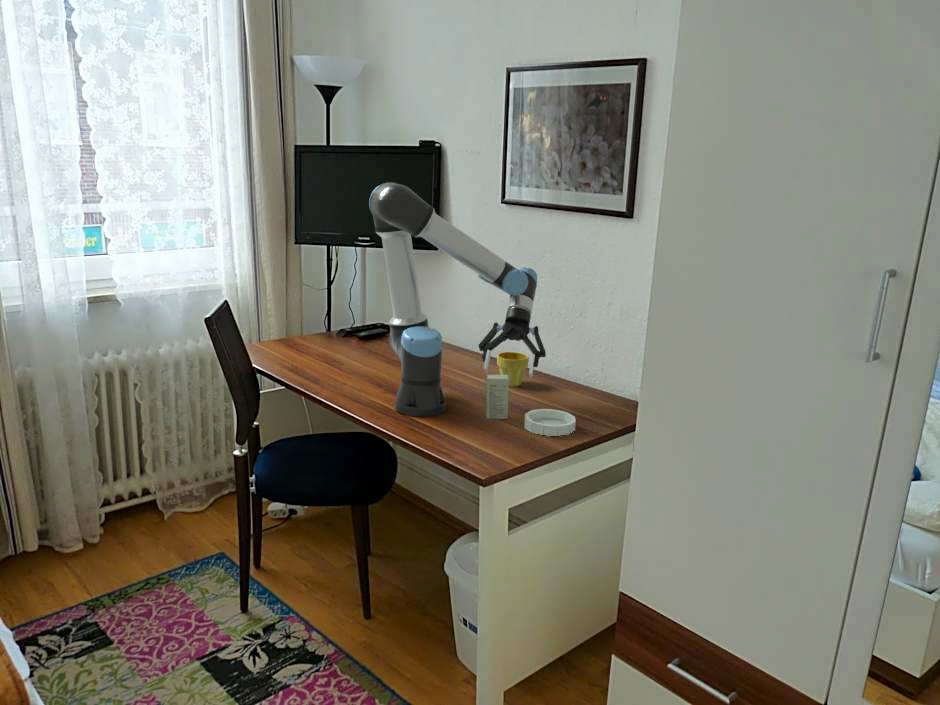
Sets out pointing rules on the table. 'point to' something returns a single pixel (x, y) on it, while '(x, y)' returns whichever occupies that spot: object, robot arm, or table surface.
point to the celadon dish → (549, 422)
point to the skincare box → (497, 397)
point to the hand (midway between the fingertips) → (507, 373)
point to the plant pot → (513, 366)
